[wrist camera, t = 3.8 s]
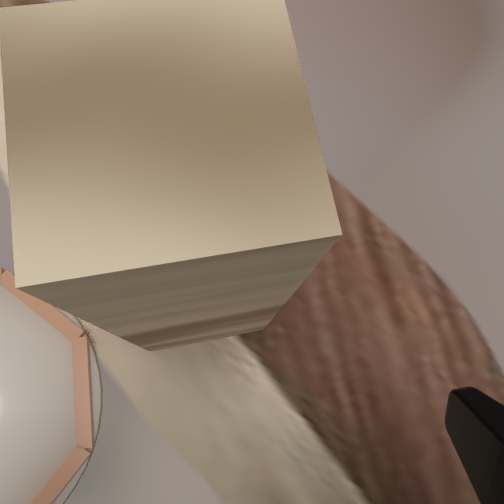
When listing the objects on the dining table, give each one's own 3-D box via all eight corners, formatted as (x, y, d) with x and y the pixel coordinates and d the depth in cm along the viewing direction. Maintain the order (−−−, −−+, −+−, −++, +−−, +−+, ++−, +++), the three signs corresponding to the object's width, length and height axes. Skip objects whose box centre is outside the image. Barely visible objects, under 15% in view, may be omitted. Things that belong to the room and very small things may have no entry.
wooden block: (263, 330, 21) (342, 234, 8) (149, 350, 20) (16, 288, 7) (242, 224, 22) (279, -20, 9) (135, 241, 22) (-3, 8, 8)
